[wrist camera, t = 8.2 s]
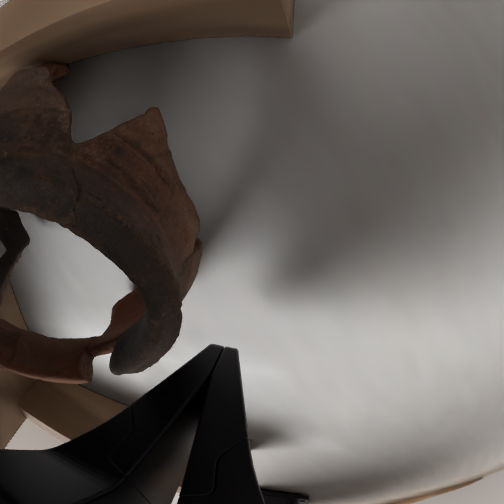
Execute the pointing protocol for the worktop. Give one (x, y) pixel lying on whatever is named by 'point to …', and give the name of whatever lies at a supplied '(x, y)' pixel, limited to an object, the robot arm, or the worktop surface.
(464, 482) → the worktop surface
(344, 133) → the worktop surface
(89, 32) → the walnut bay
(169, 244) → the pottery mug
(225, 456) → the robot arm
